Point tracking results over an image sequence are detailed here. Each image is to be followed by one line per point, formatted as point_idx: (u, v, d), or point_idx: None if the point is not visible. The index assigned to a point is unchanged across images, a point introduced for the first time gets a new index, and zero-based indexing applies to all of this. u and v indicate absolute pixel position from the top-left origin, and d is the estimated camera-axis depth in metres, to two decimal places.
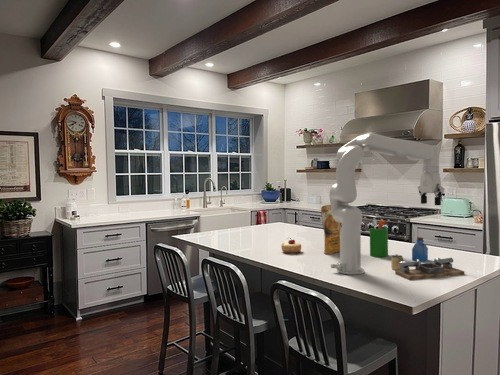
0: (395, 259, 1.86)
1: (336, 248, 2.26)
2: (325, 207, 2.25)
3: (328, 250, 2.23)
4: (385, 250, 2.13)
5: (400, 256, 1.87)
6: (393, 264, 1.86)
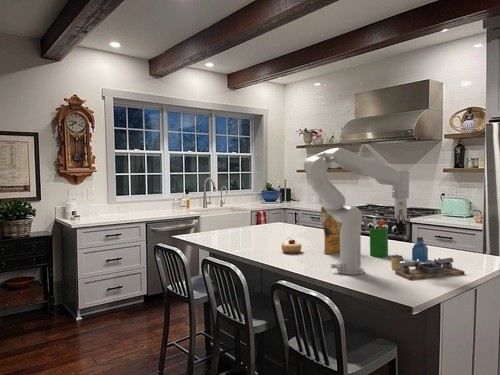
0: (395, 259, 1.86)
1: (336, 248, 2.26)
2: None
3: (328, 250, 2.23)
4: (385, 250, 2.13)
5: (400, 256, 1.87)
6: (393, 264, 1.86)
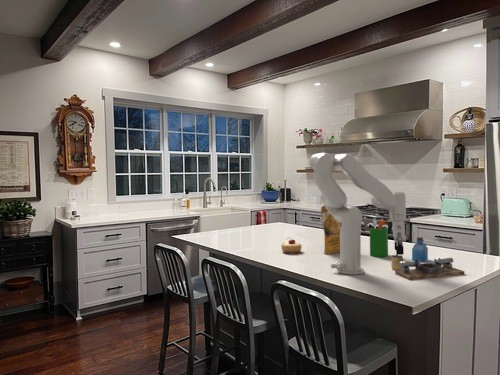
0: (395, 259, 1.86)
1: (336, 248, 2.26)
2: (325, 207, 2.25)
3: (328, 250, 2.23)
4: (385, 250, 2.13)
5: (400, 256, 1.87)
6: (393, 264, 1.86)
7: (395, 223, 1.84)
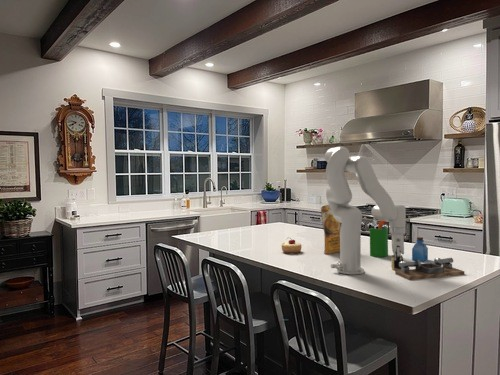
0: None
1: (336, 248, 2.26)
2: (325, 207, 2.25)
3: (328, 250, 2.23)
4: (385, 250, 2.13)
5: None
6: (393, 264, 1.86)
7: (394, 236, 1.84)
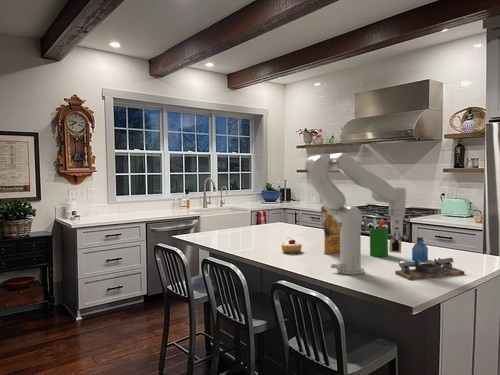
0: None
1: (336, 248, 2.26)
2: None
3: (328, 250, 2.23)
4: (385, 250, 2.13)
5: None
6: (391, 246, 1.86)
7: (394, 218, 1.83)
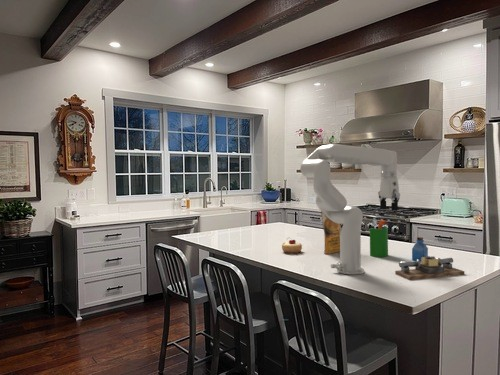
0: (431, 261, 1.75)
1: (336, 248, 2.26)
2: None
3: (328, 250, 2.23)
4: (385, 250, 2.13)
5: (433, 257, 1.77)
6: (429, 266, 1.74)
7: (391, 180, 1.89)
